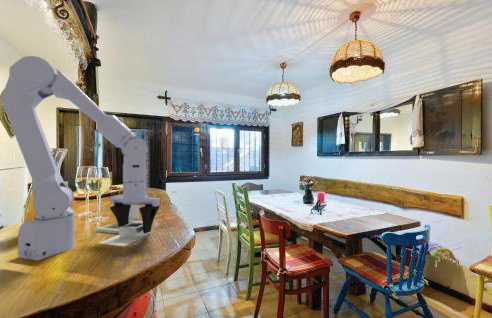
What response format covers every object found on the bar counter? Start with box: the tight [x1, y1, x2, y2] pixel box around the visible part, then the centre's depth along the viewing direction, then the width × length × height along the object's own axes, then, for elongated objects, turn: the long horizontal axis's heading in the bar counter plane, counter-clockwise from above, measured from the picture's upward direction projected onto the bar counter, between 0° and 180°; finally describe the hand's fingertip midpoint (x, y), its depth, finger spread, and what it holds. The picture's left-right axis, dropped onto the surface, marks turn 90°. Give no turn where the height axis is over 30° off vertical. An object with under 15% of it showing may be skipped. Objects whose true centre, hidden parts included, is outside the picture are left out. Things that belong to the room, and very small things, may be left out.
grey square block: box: [118, 222, 151, 241], centre depth 63 cm, size 5×5×3 cm
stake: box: [131, 223, 140, 227], centre depth 63 cm, size 2×2×3 cm
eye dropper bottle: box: [129, 202, 140, 221], centre depth 81 cm, size 4×6×12 cm
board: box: [98, 234, 148, 247], centre depth 61 cm, size 8×8×1 cm
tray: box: [96, 220, 143, 235], centre depth 71 cm, size 10×10×2 cm
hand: (135, 231), depth 63 cm, fingers open, 7 cm apart
